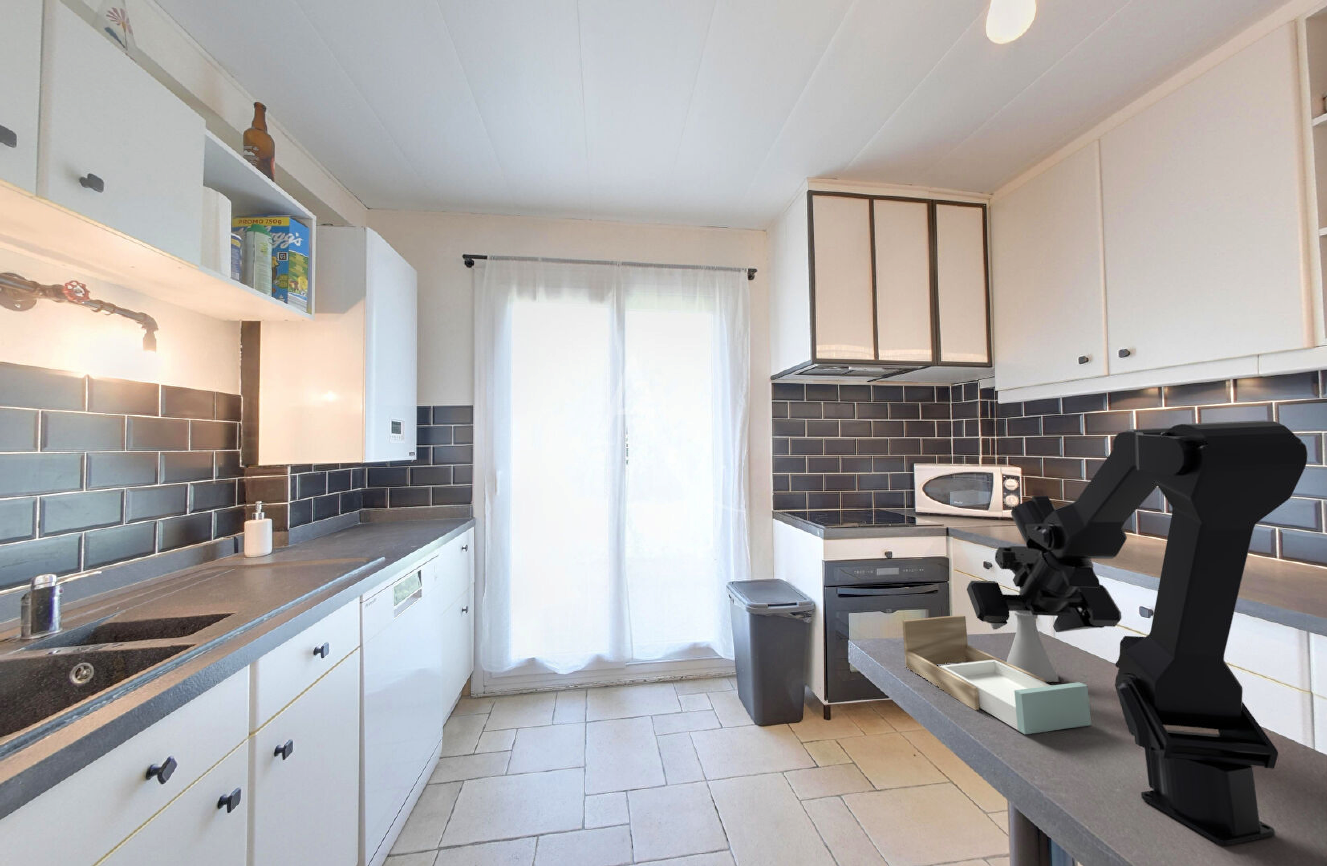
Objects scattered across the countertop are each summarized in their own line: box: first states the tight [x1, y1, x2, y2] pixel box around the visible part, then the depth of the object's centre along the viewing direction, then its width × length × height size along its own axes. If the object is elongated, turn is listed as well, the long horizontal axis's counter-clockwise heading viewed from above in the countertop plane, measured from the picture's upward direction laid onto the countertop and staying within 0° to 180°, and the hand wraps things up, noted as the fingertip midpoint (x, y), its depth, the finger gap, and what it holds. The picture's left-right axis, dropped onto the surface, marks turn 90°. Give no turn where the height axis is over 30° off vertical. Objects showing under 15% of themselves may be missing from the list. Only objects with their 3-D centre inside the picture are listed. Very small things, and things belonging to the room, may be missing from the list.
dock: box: [901, 614, 1046, 711], centre depth 75 cm, size 15×12×8 cm
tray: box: [938, 660, 1092, 735], centre depth 68 cm, size 15×10×5 cm
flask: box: [1006, 611, 1060, 683], centre depth 78 cm, size 7×7×10 cm
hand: (1023, 628), depth 79 cm, fingers open, 9 cm apart
